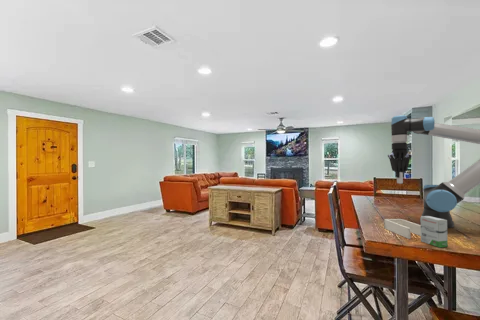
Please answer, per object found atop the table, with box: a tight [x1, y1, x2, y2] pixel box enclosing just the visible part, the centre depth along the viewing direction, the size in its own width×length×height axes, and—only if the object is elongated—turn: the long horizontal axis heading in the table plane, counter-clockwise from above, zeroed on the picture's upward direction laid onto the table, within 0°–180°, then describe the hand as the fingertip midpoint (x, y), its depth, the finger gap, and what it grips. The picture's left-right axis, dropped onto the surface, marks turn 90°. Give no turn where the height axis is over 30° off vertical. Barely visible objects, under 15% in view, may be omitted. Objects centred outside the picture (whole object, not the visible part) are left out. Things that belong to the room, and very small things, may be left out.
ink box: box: [420, 215, 449, 248], centre depth 104 cm, size 9×5×12 cm, turn 10°
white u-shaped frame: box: [383, 218, 421, 240], centre depth 120 cm, size 10×18×5 cm, turn 3°
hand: (399, 183), depth 134 cm, fingers closed
